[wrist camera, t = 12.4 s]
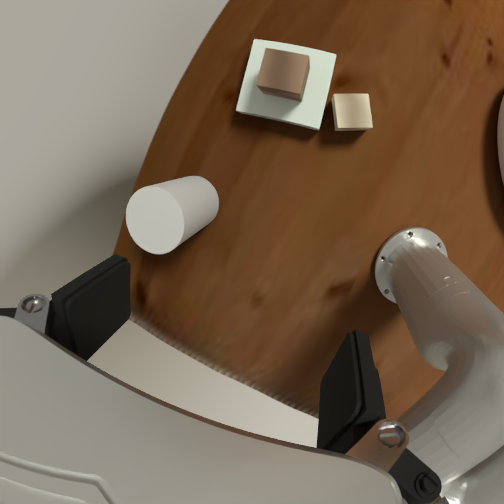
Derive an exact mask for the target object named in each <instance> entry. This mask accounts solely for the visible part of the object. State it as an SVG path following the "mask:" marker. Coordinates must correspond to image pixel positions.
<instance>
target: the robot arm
mask: <svg viewBox="0 0 504 504" xmlns="http://www.w3.org/2000/svg"><path fill="white" fill-rule="evenodd" d="M409 232H410V234H408V233H409ZM437 244H438V245H437ZM382 256H383V258H381V257H382ZM374 273H375V280H376V283H377V286H378V288H379V290H380V291H381V293H382V294H383V295H384V296H385V297H386V298H387V299H388V300H390V301H392V302H394V303H397V305H398V307H399V309H400V311H401V313H402V315H403V318H404V320H405V322H406V325H407V327H408V329H409V331H410V334H411V336H412V339H413V341H414V343H415V346H416V348H417V350H418V352H419V354H420V356H421V357H422V358H423V360H424V361H426V362H427V363H428V364H429V365H431V366H433V367H435V368H438V369H441V370H446V372H445V373H444V375H443V376H442V377H441V378H440V379H439V380H438V381H437V382H436V383H435V384H434V385H433V386H432V388H431V389H430V390H429V391H428V392H427V393H426V394H425V395H424V396H422V397H421V398H420V399H419V400H418V401H417V402H416V403H415V404H414V405H412V406H411V407H410V408H409V409H408V410H407V411H406V412H404V413H403V414H402V415H401V416H400V417H399V418H398V419H396V420H393V419H386V414H385V407H384V401H383V395H382V389H381V384H380V378H379V373H378V370H377V369H376V368H375V366H374V361H373V356H372V351H371V347H370V342H369V337H368V334H367V333H363V332H359V331H355V330H354V331H353V332H352V333H347V335H346V337H345V339H344V341H343V342H342V344H341V346H340V348H339V350H338V352H337V354H336V356H335V357H334V359H333V361H332V363H331V365H330V366H329V368H328V370H327V372H326V373H325V375H324V377H323V379H322V382H321V388H320V408H319V424H318V437H317V448H314V447H309V446H304V445H299V444H294V443H290V442H286V441H282V440H277V439H274V438H269V437H265V436H262V435H258V434H254V433H251V432H247V431H244V430H241V429H237V428H234V427H231V426H228V425H225V424H222V423H218V422H216V421H213V420H210V419H207V418H204V417H202V416H199V415H196V414H194V413H191V412H188V411H186V410H183V409H181V408H179V407H176V406H174V405H171V404H169V403H167V402H164V401H162V400H160V399H158V398H155V397H153V396H151V395H149V394H147V393H145V392H143V391H141V390H138V389H136V388H134V387H132V386H130V385H128V384H127V383H124V382H123V381H121V380H119V379H117V378H115V377H113V376H111V375H110V374H108V373H106V372H104V371H102V370H101V369H99V368H97V367H96V366H94V365H92V364H90V363H89V362H87V360H88V359H89V358H90V357H91V356H92V355H93V354H94V353H95V352H96V351H97V350H98V349H99V348H100V347H101V346H102V345H103V344H104V343H105V342H106V341H107V340H108V339H109V338H110V337H111V336H112V335H113V334H114V333H115V332H116V331H117V330H118V329H119V328H120V327H121V326H122V325H123V324H124V323H125V322H126V321H127V320H128V319H129V317H130V263H128V260H127V259H126V258H124V257H122V256H119V255H116V254H115V255H113V256H111V257H110V258H108V259H106V260H105V261H103V262H101V263H100V264H98V265H96V266H95V267H93V268H92V269H90V270H88V271H87V272H85V273H83V274H82V275H80V276H79V277H77V278H75V279H74V280H72V281H71V282H69V283H68V284H66V285H65V286H63V287H62V288H60V289H59V290H57V291H55V292H54V293H52V294H51V295H52V300H51V301H50V302H49V300H48V298H47V297H46V296H44V295H41V294H31V295H27V296H26V297H24V298H23V299H22V300H20V302H19V304H18V307H17V308H0V504H504V313H503V312H501V311H500V310H499V309H498V308H497V307H496V306H495V305H494V304H493V303H492V302H491V301H490V300H489V299H488V298H487V297H486V296H485V295H484V294H483V293H482V292H481V291H480V290H479V289H478V288H477V287H476V286H475V285H474V284H473V283H472V282H471V281H470V279H469V278H468V277H467V276H466V275H464V274H463V273H462V272H461V271H460V270H459V269H458V268H457V267H456V266H455V265H454V264H453V263H452V262H451V261H450V260H449V259H448V256H447V251H446V248H445V246H444V243H443V242H442V240H441V239H440V238H439V237H438V236H437V235H436V234H435V233H433V232H432V231H430V230H428V229H426V228H422V227H408V228H405V229H402V230H400V231H398V232H396V233H395V234H393V235H392V236H391V237H389V238H388V240H387V241H386V242H385V243H384V244H383V246H382V247H381V249H380V250H379V253H378V255H377V257H376V261H375V269H374ZM386 289H387V290H386Z"/></svg>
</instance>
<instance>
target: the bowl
mask: <svg viewBox="0 0 504 504" xmlns="http://www.w3.org/2000/svg"><path fill="white" fill-rule="evenodd" d="M497 145H498V157H499V165H500V171H501V176H502V181H503V185H504V96H503V99H502V102H501V105H500V110H499V116H498V127H497Z"/></svg>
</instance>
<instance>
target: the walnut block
mask: <svg viewBox="0 0 504 504" xmlns="http://www.w3.org/2000/svg"><path fill="white" fill-rule="evenodd" d="M309 70H310V59H309V56H308V55H304V54H299V53H294V52H289V51H283V50H277V49H271V48H265V52H264V56H263V60H262V63H261V67H260V71H259V75H258V78H257V82H256V86H257V87H258V88H259V89H260V90H261V91H262V93H263V94H267V95H272V96H277V97H282V98H286V99H291V100H295V101H299V102H302V99H303V95H304V91H305V87H306V83H307V79H308V74H309Z"/></svg>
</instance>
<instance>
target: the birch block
mask: <svg viewBox="0 0 504 504" xmlns="http://www.w3.org/2000/svg"><path fill="white" fill-rule="evenodd" d="M331 101H332V108H333V116H334V125H335V131H347V130H368V129H371V128H373V126H372V118H371V110H370V102H369V96H368V94H333V97H332V100H331Z"/></svg>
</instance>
